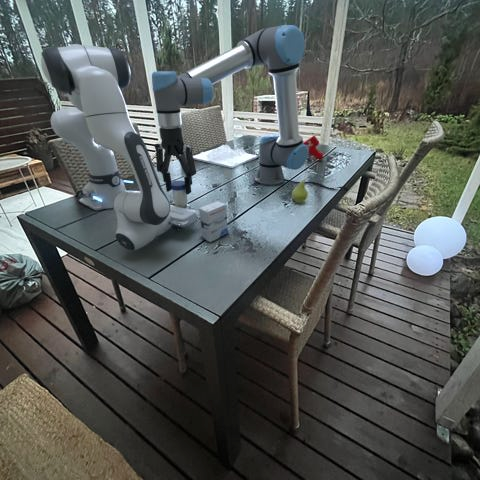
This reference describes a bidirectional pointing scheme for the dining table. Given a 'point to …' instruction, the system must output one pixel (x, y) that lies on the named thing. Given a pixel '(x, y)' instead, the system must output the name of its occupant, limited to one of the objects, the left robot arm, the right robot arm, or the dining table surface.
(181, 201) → the jar
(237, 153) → the relief map
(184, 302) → the dining table surface
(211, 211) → the ink box
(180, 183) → the lid
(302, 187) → the fruit
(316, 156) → the toy gun
